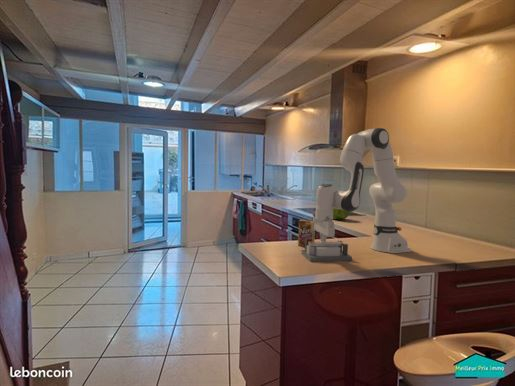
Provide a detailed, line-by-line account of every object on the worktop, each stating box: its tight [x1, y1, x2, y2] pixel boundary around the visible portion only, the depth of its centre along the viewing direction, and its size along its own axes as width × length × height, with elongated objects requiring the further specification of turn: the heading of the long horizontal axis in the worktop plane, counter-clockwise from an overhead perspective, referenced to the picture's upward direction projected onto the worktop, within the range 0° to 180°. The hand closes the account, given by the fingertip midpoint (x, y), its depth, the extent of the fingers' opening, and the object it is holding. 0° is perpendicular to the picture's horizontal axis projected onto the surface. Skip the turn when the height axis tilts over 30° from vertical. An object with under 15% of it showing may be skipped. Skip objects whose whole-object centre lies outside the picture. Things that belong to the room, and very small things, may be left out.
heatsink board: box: [301, 238, 353, 262], centre depth 166 cm, size 22×14×9 cm, turn 100°
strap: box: [308, 241, 344, 247], centre depth 165 cm, size 18×4×2 cm, turn 100°
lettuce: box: [333, 208, 350, 221], centre depth 293 cm, size 17×23×17 cm
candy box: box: [297, 219, 316, 248], centre depth 187 cm, size 9×4×15 cm, turn 56°
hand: (323, 242), depth 165 cm, fingers closed
